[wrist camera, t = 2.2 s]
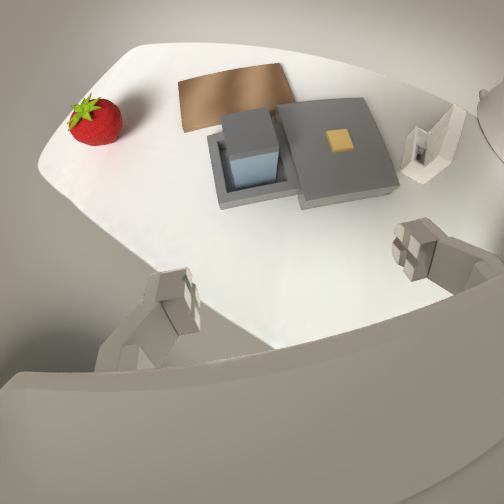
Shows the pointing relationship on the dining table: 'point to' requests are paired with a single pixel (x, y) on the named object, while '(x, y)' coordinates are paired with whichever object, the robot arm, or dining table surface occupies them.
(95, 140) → the strawberry
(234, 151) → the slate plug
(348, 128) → the grey socket base
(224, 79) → the walnut pad
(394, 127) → the dining table surface
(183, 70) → the dining table surface
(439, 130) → the white slotted stand
